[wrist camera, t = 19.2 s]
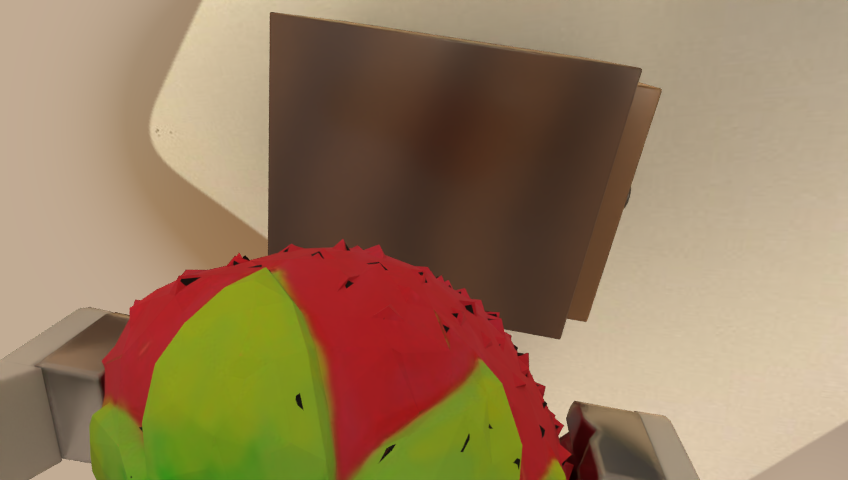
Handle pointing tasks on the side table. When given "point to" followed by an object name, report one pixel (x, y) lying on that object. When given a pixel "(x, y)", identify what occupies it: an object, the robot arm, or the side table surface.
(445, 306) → the strawberry
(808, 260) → the side table surface
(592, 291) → the wooden drawer
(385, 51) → the nightstand
